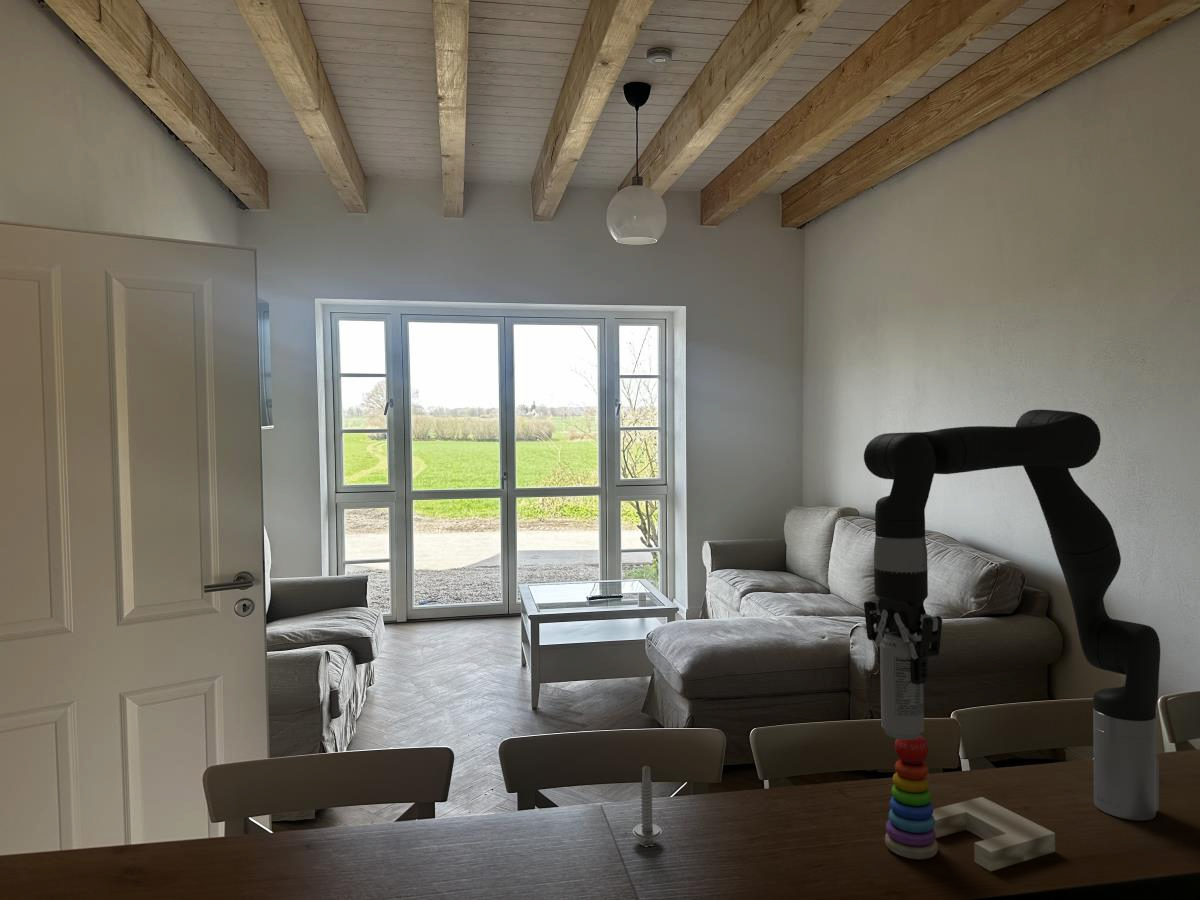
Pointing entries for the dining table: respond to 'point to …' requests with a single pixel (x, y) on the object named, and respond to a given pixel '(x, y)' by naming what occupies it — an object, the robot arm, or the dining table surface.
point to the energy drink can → (899, 690)
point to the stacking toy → (911, 804)
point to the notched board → (995, 832)
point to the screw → (646, 813)
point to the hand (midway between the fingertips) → (902, 676)
